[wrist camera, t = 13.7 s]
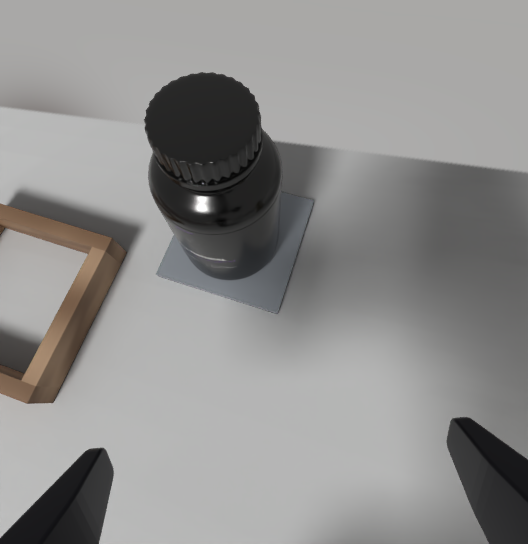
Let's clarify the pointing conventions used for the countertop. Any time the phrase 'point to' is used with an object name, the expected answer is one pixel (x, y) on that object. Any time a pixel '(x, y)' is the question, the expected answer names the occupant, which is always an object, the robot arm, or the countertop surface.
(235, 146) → the supplement bottle
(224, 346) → the countertop surface
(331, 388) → the countertop surface
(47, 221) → the walnut holder
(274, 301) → the slate mat
